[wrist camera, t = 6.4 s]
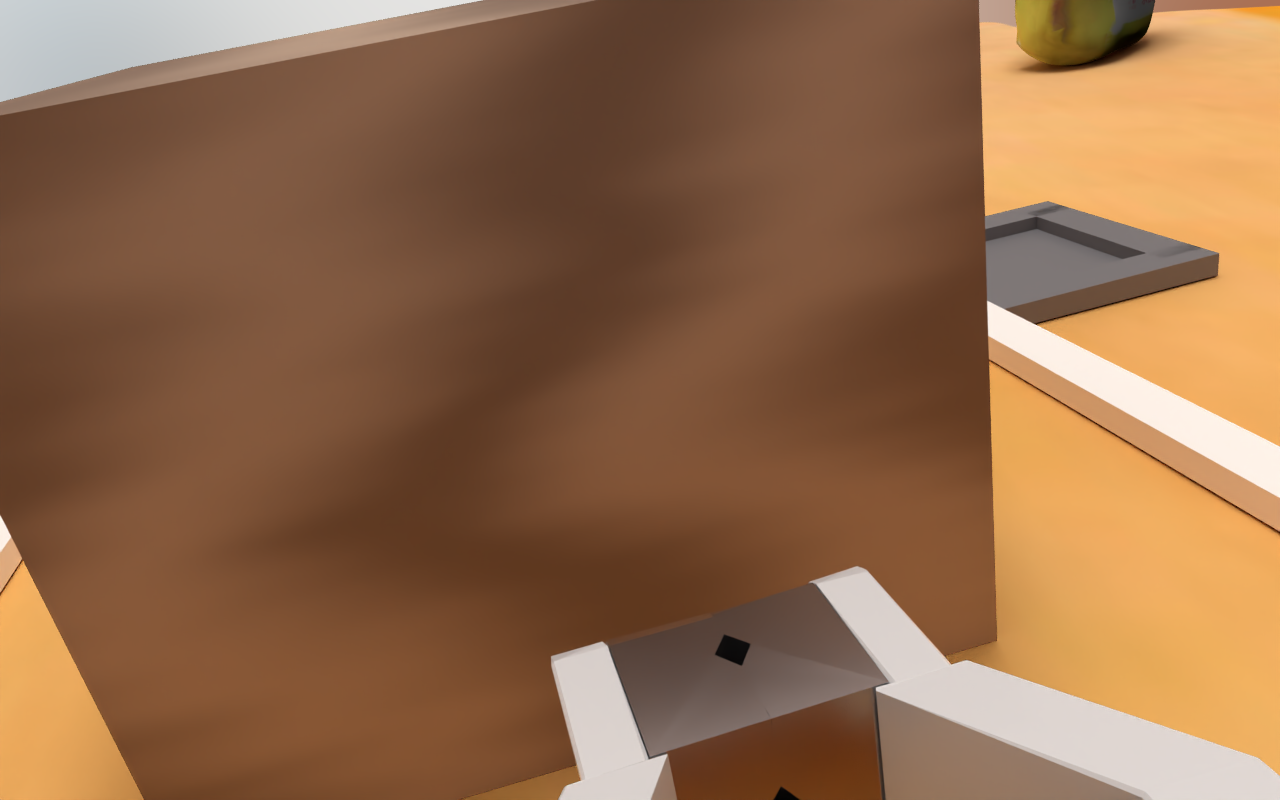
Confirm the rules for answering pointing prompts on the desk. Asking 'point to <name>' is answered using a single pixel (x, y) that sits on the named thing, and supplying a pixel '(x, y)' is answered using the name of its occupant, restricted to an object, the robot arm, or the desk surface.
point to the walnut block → (485, 367)
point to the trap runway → (1107, 394)
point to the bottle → (1079, 28)
